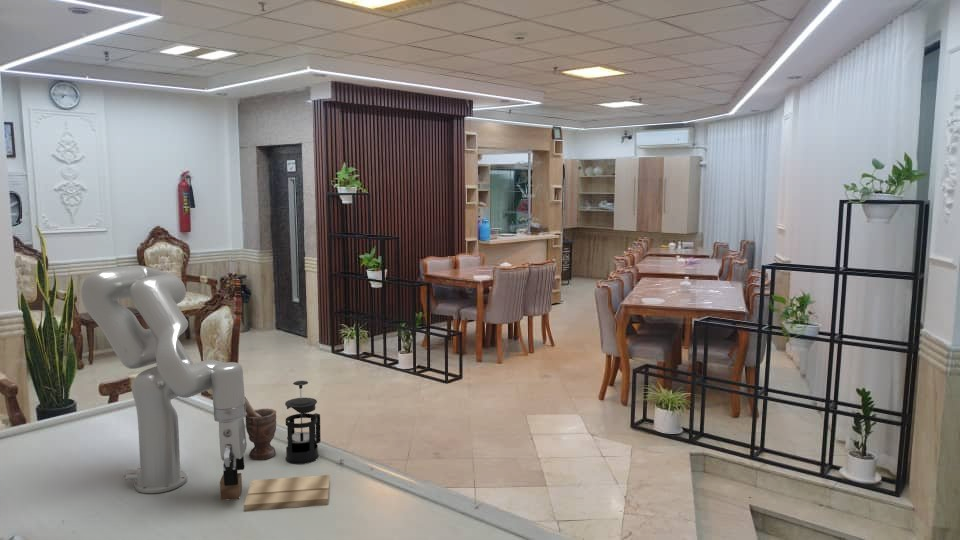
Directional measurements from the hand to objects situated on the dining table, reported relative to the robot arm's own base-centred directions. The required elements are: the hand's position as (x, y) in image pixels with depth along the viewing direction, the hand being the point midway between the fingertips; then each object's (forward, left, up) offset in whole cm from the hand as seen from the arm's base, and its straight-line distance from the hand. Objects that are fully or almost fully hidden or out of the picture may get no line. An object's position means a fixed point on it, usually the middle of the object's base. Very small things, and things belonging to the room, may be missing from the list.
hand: (234, 477), depth 169 cm
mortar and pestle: (+2, +25, -5) cm, 26 cm away
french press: (+15, +23, -5) cm, 28 cm away
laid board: (+13, -6, -5) cm, 16 cm away
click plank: (+13, +1, -5) cm, 14 cm away
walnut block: (-1, +1, -5) cm, 5 cm away
